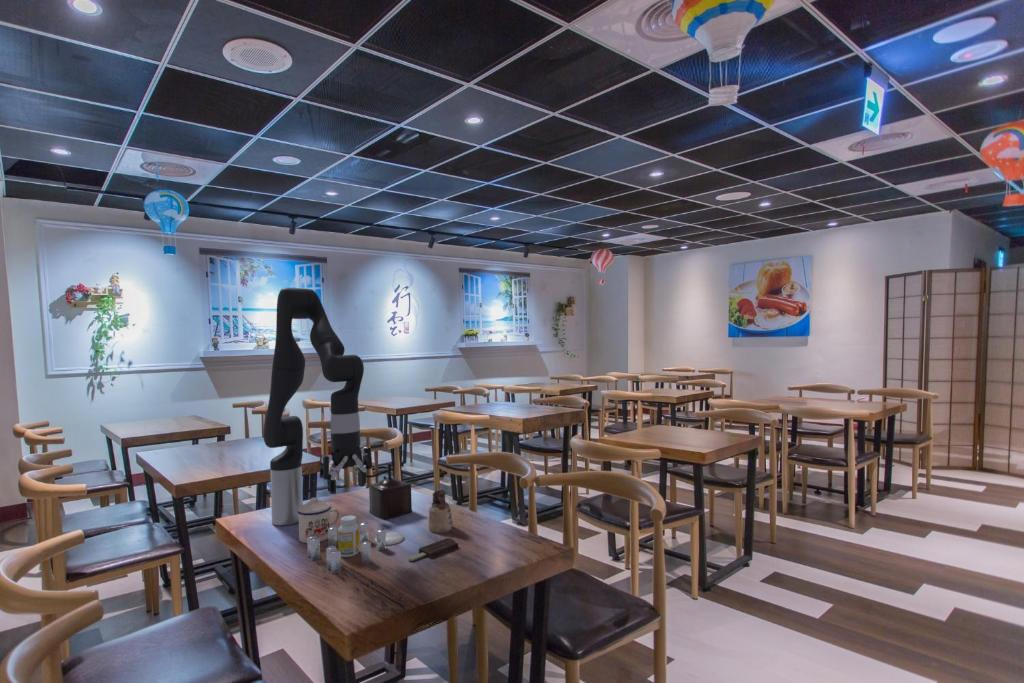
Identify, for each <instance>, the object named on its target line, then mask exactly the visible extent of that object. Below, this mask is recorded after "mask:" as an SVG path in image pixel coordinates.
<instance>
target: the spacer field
mask: <svg viewBox="0 0 1024 683" xmlns="http://www.w3.org/2000/svg"><path fill="white" fill-rule="evenodd" d="M375 533H376V537H377V544H376V550H377V551H385V550H386V549H387V545H386V533H387V531H386V529H385V528H380V529H377V530H376V532H375ZM369 537H370V536H369V522H368V521H363V522H360V523H359V543H360V547H361V549H360V550H361V564H363V565H367V564H368V565H369V564H371V563H372V542H371V541H370V538H369ZM327 542H328V543H327V546H326V548H325V551H326V554H325V555H326V556H325V557H326V569H327V570H330V574H333V575H337V574H339V573H341V572H342V557H341V551H340V550H338V549H337V546H338V526H337V525H334V526H331V527H328V539H327ZM306 544H307V545H306V546H307V557H308V558H310V560H311V561H316V560H319V559H321V542H320V538H317V536H316V535H311V536H308V537H307V543H306Z"/></svg>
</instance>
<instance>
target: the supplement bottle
mask: <svg viewBox="0 0 1024 683" xmlns="http://www.w3.org/2000/svg"><path fill="white" fill-rule="evenodd" d="M339 521H340V525H339V527H337V546H338V547H337V548H338V549H337V550H340V551H341V558H350V557H355V556H357V555H358V553H359V552H360V526H359V525H358V524H357V517H356V516H355V515H345V516H343V517H342V516H341V517H340V519H339Z"/></svg>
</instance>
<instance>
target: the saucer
mask: <svg viewBox="0 0 1024 683" xmlns="http://www.w3.org/2000/svg"><path fill="white" fill-rule="evenodd" d="M402 541H404V534H403V533H400V532H396V531H395V532H394V531H393V532H392V531H391V532H386V546H392V545H396V544H398V543H401V542H402ZM374 543H375V544H376V545H377V536H376V537H375V538H374Z"/></svg>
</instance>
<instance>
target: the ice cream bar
mask: <svg viewBox="0 0 1024 683" xmlns="http://www.w3.org/2000/svg"><path fill="white" fill-rule="evenodd" d="M457 549H459V543H458V542H456V540H455V539H453V538H448V537H447V538H444V539H441V540H438V541H436V542H433V543H430V544H427V545H425V546H422V547H420V548H418V553H417V554H415V555H412V556H409V557H408V561H409V562H414V561H417V560H419V559H422V558H424V557H425V558H428V559H433V558H436V557H439V556H441V555H443V554H446V553H449V552H451V551H454V550H457Z"/></svg>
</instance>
